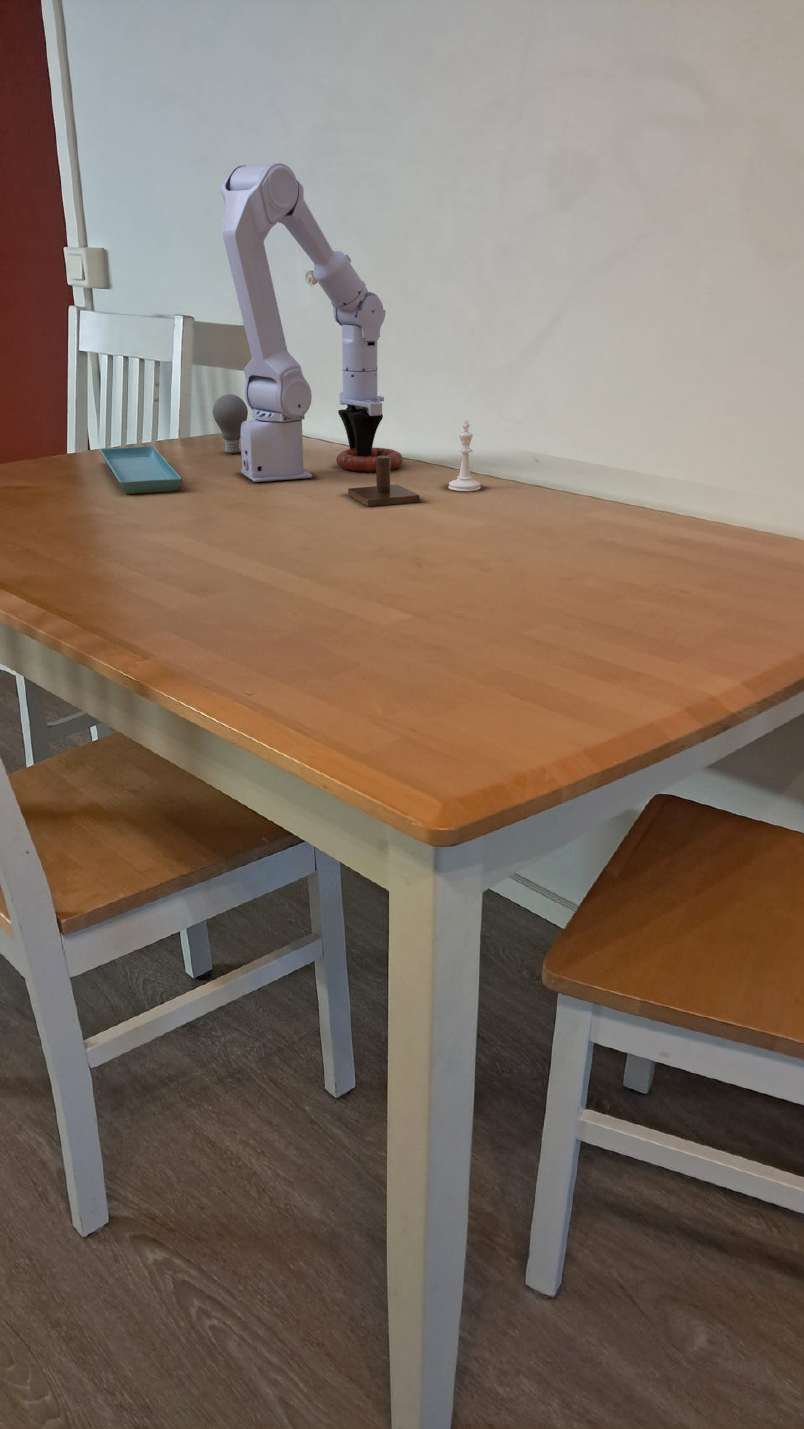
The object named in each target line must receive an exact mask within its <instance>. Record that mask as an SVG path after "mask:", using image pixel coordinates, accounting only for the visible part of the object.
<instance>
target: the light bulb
mask: <svg viewBox="0 0 804 1429" xmlns="http://www.w3.org/2000/svg"><path fill="white" fill-rule="evenodd" d="M212 415H213V419H214V421H215V423H216V424H217V426H218V427H219V430H220V432H221V436H222V438H223V440H224V446H225V447H224V451H225V452H226V453H228V454H230V455H235V454H237V453H238V452H241V447H240V445H241V442H240V440H241V425H242V423H243V422H244V421H248V415H249V410H248V405H247V403H245V401H244V400H243V399H242V398H241V397H240V396H238V395H235V394H231V393H227V394H223V395H221V396H220V397H219V398H218V399H217V400H216V401H215V402H214V405H213V407H212Z"/></svg>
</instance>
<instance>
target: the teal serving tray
mask: <svg viewBox="0 0 804 1429" xmlns="http://www.w3.org/2000/svg"><path fill="white" fill-rule="evenodd" d="M99 453H100V454H101V456H102V458H103V459H104V461H105V463H106V464H107V466H108V468H109V470H110V471H111V473H112V474H113V476H114V477H115V479H116V480H117V482H118V484H119V485H120V487H121V489H122V490H123V491H124V493H125V494H127V495H130V494H131V495H132V494H133V495H134V494H148V493H168V492H176V491H177V490H178V488H179V486H180V484H181V482H182V480H183V478H182V476H181V475H179V473H178V472H177V471H176V470H175V469H174V468H173V467H172V465H171V464H170V462H168V461H167V459H166V458H165V457H164V456H163V455H162V453H161V452H160V451H159V450H158V449H157V447H156V446H154V445H147V446H145V445H144V446H128V447H127V446H126V447H112V448H100V449H99Z"/></svg>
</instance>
